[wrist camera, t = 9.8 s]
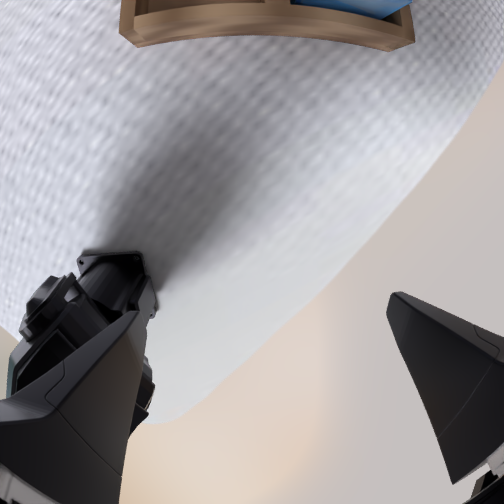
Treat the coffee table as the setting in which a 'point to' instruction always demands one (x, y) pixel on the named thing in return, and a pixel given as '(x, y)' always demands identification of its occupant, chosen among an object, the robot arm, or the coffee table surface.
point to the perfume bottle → (358, 6)
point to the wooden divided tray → (258, 22)
